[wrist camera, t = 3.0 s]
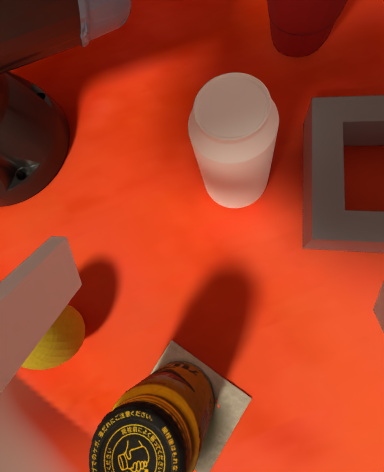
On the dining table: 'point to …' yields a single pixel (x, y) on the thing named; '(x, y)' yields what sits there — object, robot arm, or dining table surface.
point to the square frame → (338, 173)
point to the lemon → (58, 341)
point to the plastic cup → (302, 24)
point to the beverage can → (234, 137)
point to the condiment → (169, 419)
